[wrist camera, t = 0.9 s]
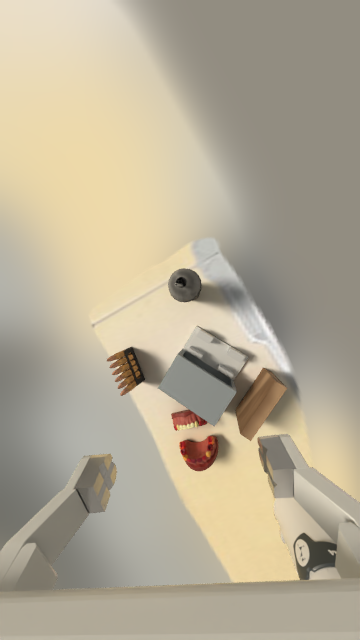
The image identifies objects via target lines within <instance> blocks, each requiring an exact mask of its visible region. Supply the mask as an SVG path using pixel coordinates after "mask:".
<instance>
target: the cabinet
mask: <svg viewBox="0 0 360 640" xmlns="http://www.w3.org/2000/svg"><path fill="white" fill-rule="evenodd" d="M248 358H249V357H248V356H247V355H245V354H243V353H241V352H240V351H238V350H236V349H235V348H233V347H231V346H230V345H228V344H226V343H225V342H223V341H221V340H220V339H218V338H216V337H214V336H213V335H211V334H209V333H208V332H206V331H204V330H203V329H201V328H199V327H198V326H196V327H195V329H194V331H193V333H192V334H191V336H190V338H189V339H188V341H187V343H186V344H185V346H184V348H183V349H182V350H181V351H180V352H179V353H178V355H177V356H176V358H175V360H174V361H173V363H172V365H171V367H170V368H169V370H168V372H167V373H166V375H165V377H164V378H163V380H162V382H161V384H160V385H159V387H158V388H159V389H160V390H161V391H163V392H164V393H166V394H167V395H169V396H170V397H172V398H173V399H175V400H176V401H178V402H179V403H181V404H182V405H183V406H185V407H186V408H188V409H189V410H191V411H192V412H194V413H195V414H197V415H198V416H200V417H201V418H203V419H204V420H205V421H207V422H208V423H210V424H211V425H213V426H215V425H216V423H217V422H218V420H219V418H220V417H221V415H222V414H223V412H224V411H225V409H226V408H227V406H228V405H229V403H230V402H231V400H232V399H233V397H234V396H235V394H236V392H237V391H236V387H235V384H234V379H235V378H236V376H237V375H238V373H239V372H240V370H241V369H242V367H243V365H244V364H245V362H246V361H247V359H248Z"/></svg>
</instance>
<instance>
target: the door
mask: <svg viewBox="0 0 360 640" xmlns="http://www.w3.org/2000/svg"><path fill="white" fill-rule="evenodd" d="M286 389H287V388H286V386H285V385H284V384H283V383H282V382H281V381H280V380H279V379H278V378H277V377H276V376H275V375H274V374H273V373H271V372H270V371H268V370H266V369H265V368H263V369H262V371H261V372H260V374H259V375H258V377H257V378H256V380H255V381H254V383H253V384H252V386H251V387H250V389H249V390H248V392H247V393H246V395H245V396H244V398H243V399H242V401H241V402H240V404H239V405H238V407H237V408H236V410H235V411H236V416H237V420H238V425H239V430H240V434H241V435H243V436H244V437H246V438H247V439H249V440H250V441H251V440H252V438H253V437H254V435H255V434H256V433H257V431H258V430H259V428H260V427H261V425H262V424H263V422H264V421H265V420H266V418H267V417H268V415H269V414H270V412H271V411H272V410H273V408H274V407H275V405H276V404H277V402H278V401H279V399H280V398H281V397H282V395H283V394H284V392H285V391H286Z"/></svg>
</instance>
